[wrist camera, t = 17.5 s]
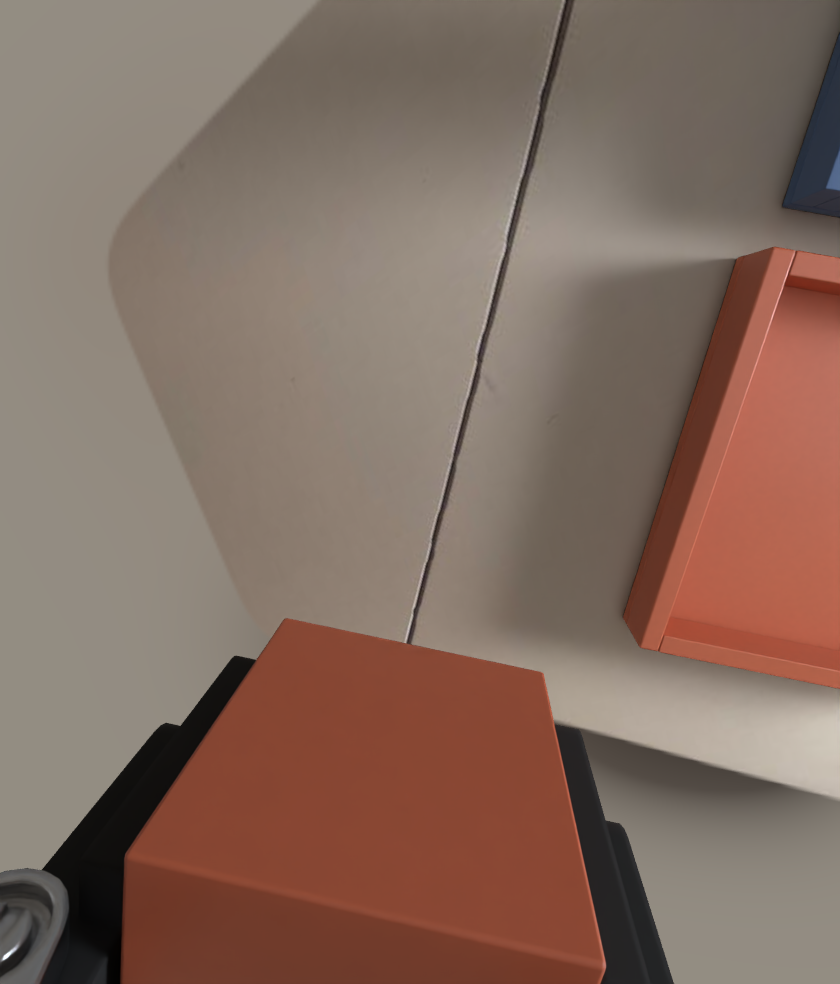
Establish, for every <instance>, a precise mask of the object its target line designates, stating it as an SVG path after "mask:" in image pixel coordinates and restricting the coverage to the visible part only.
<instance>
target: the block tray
mask: <svg viewBox="0 0 840 984" xmlns="http://www.w3.org/2000/svg"><path fill="white" fill-rule="evenodd" d="M623 619H624V621H625V622H626V624H627V626H628V628H629V629H630V631H631V633H632V635H633V636H634V638H635V640H636V642H637V644H638V645H639V647H640V648H644V649H649V650H654V651H658V652H661V653H666V654H671V655H676V656H681V657H686V658H691V659H696V660H701V661H706V662H711V663H715V664H720V665H725V666H730V667H735V668H740V669H745V670H750V671H755V672H760V673H765V674H770V675H774V676H779V677H784V678H789V679H794V680H799V681H804V682H809V683H814V684H819V685H824V686H828V687H833V688H838V689H840V258H837V257H832V256H826V255H820V254H815V253H809V252H804V251H794V250H791V249H785V248H779V247H771V248H768V249H765V250H762V251H759V252H755V253H752V254H749V255H746V256H742V257H739V258H737V260H736V263H735V266H734V270H733V273H732V276H731V279H730V282H729V285H728V288H727V292H726V295H725V298H724V301H723V304H722V307H721V310H720V314H719V317H718V320H717V323H716V326H715V329H714V332H713V336H712V339H711V342H710V345H709V348H708V351H707V355H706V358H705V361H704V364H703V367H702V370H701V373H700V377H699V380H698V383H697V386H696V389H695V392H694V395H693V399H692V402H691V405H690V408H689V411H688V414H687V417H686V421H685V424H684V427H683V430H682V433H681V436H680V439H679V443H678V446H677V449H676V452H675V455H674V458H673V461H672V465H671V468H670V471H669V474H668V477H667V480H666V483H665V487H664V490H663V493H662V496H661V499H660V502H659V506H658V509H657V512H656V515H655V518H654V521H653V524H652V528H651V531H650V534H649V537H648V540H647V543H646V546H645V550H644V553H643V556H642V559H641V562H640V565H639V568H638V572H637V575H636V578H635V581H634V584H633V587H632V590H631V594H630V597H629V600H628V603H627V606H626V609H625V612H624V616H623Z"/></svg>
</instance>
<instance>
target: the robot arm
mask: <svg viewBox="0 0 840 984" xmlns="http://www.w3.org/2000/svg"><path fill="white" fill-rule="evenodd" d="M255 661H256V660H254V659H250V658H245V657H240V656H234V657H233V658H232V659H231V660H230V661H229V663H228V664H227V665H226V667H225V668H224V669H223V671H222V672H221V673H220V675H219V676H218V677H217V678H216V680H215V681H214V683H213V684H212V685H211V686H210V688H209V689H208V690H207V692H206V693H205V694H204V696H203V697H202V698H201V700H200V701H199V702H198V704H197V705H196V706H195V708H194V709H193V710H192V712H191V713H190V714H189V716H188V717H187V718H186V719H185V721H184V722H183V723H182V725H181V726H178V725H173V724H169V723H165V724H163V725H161V726H160V727H159V728H158V729H157V730H156V731H155V732H154V733H153V734H152V735H151V737H150V738H149V739H148V740H147V741H146V743H145V744H144V745H143V746H142V747H141V749H140V750H139V751H138V752H137V754H136V755H135V756H134V757H133V758H132V760H131V761H130V762H129V763H128V765H127V766H126V767H125V768H124V770H123V771H122V772H121V773H120V775H119V776H118V777H117V778H116V779H115V781H114V782H113V783H112V784H111V786H110V787H109V788H108V789H107V791H106V792H105V793H104V794H103V796H102V797H101V798H100V799H99V800H98V802H97V803H96V804H95V805H94V806H93V808H92V809H91V810H90V811H89V813H88V814H87V815H86V816H85V817H84V819H83V820H82V821H81V822H80V824H79V825H78V826H77V827H76V829H75V830H74V831H73V832H72V833H71V835H70V836H69V837H68V838H67V840H66V841H65V842H64V843H63V845H62V846H61V847H60V848H59V849H58V851H57V852H56V853H55V854H54V856H53V857H52V858H51V859H50V861H49V862H48V863H47V864H46V865H45V867H44V868H43V869H42V870H36V869H29V868H25V869H17V870H9V871H4V872H1V873H0V984H120V970H121V941H122V913H123V884H124V858H125V854H126V852H127V851H128V849H129V848H130V846H131V845H132V843H133V842H134V840H135V839H136V837H137V836H138V834H139V833H140V831H141V830H142V828H143V827H144V825H145V824H146V822H147V821H148V820H149V818H150V817H151V815H152V814H153V812H154V811H155V809H156V808H157V806H158V805H159V803H160V802H161V800H162V799H163V797H164V796H165V794H166V793H167V791H168V790H169V789H170V787H171V786H172V784H173V783H174V781H175V780H176V778H177V777H178V775H179V774H180V772H181V771H182V769H183V768H184V766H185V765H186V763H187V762H188V760H189V759H190V757H191V756H192V755H193V753H194V752H195V750H196V749H197V747H198V746H199V744H200V743H201V741H202V740H203V738H204V737H205V735H206V734H207V732H208V731H209V729H210V728H211V726H212V725H213V723H214V722H215V721H216V719H217V718H218V716H219V715H220V713H221V712H222V710H223V709H224V707H225V706H226V704H227V703H228V701H229V700H230V698H231V697H232V695H233V694H234V692H235V691H236V689H237V688H238V687H239V685H240V684H241V682H242V681H243V679H244V678H245V676H246V675H247V673H248V672H249V670H250V669H251V667H252V666H253V664H254V663H255ZM554 725H555V724H554ZM555 730H556V735H557V739H558V744H559V748H560V753H561V758H562V762H563V767H564V772H565V776H566V781H567V786H568V790H569V795H570V799H571V804H572V809H573V813H574V818H575V823H576V827H577V832H578V837H579V841H580V846H581V850H582V855H583V860H584V864H585V869H586V874H587V878H588V883H589V888H590V892H591V897H592V901H593V906H594V911H595V915H596V920H597V925H598V929H599V934H600V939H601V943H602V948H603V952H604V957H605V962H606V969H605V973H604V975H603V978H602V980H601V983H600V984H674V983H673V980H672V976H671V973H670V970H669V967H668V964H667V961H666V957H665V954H664V951H663V948H662V944H661V942H660V938H659V935H658V932H657V929H656V925H655V922H654V919H653V916H652V913H651V909H650V906H649V903H648V900H647V897H646V893H645V891H644V887H643V884H642V881H641V878H640V874H639V871H638V868H637V865H636V862H635V858H634V855H633V852H632V849H631V846H630V843H629V839H628V837H627V834H626V832H625V830H624V828H623V827H622V826H621V825H620V824H619V823H614V822H610V821H606V820H605V817H604V814H603V810H602V806H601V803H600V799H599V796H598V792H597V788H596V785H595V781H594V778H593V774H592V771H591V767H590V763H589V760H588V756H587V753H586V749H585V745H584V742H583V738H582V735H581V732H580V731H579V730H578V729H574V728H569V727H564V726H560V725H555Z"/></svg>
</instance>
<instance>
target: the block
mask: <svg viewBox="0 0 840 984" xmlns="http://www.w3.org/2000/svg"><path fill="white" fill-rule="evenodd" d="M605 969H606V962H605V957H604V952H603V948H602V943H601V939H600V934H599V929H598V925H597V920H596V915H595V911H594V906H593V901H592V897H591V892H590V888H589V883H588V878H587V874H586V869H585V864H584V860H583V855H582V850H581V846H580V841H579V837H578V832H577V827H576V823H575V818H574V813H573V809H572V804H571V799H570V795H569V790H568V786H567V781H566V776H565V772H564V767H563V762H562V758H561V753H560V748H559V744H558V739H557V735H556V730H555V725H554V721H553V716H552V711H551V707H550V702H549V697H548V693H547V688H546V684H545V679H544V674H543V673H541V672H538V671H533V670H529V669H524V668H519V667H515V666H510V665H505V664H500V663H496V662H491V661H486V660H482V659H477V658H472V657H467V656H463V655H458V654H453V653H449V652H444V651H439V650H434V649H430V648H425V647H420V646H416V645H411V644H406V643H401V642H397V641H392V640H387V639H383V638H378V637H373V636H368V635H364V634H359V633H354V632H350V631H345V630H340V629H335V628H331V627H326V626H321V625H317V624H312V623H307V622H302V621H298V620H293V619H288V618H286V619H284V620H283V622H282V623H281V624H280V626H279V627H278V629H277V630H276V632H275V633H274V635H273V636H272V638H271V639H270V641H269V642H268V644H267V645H266V647H265V648H264V650H263V651H262V653H261V654H260V656H259V657H258V658H257V660H256V661H255V663H254V664H253V666H252V667H251V669H250V670H249V672H248V673H247V675H246V676H245V678H244V679H243V681H242V682H241V684H240V685H239V687H238V688H237V689H236V691H235V692H234V694H233V695H232V697H231V698H230V700H229V701H228V703H227V704H226V706H225V707H224V709H223V710H222V712H221V713H220V715H219V716H218V718H217V719H216V721H215V722H214V723H213V725H212V726H211V728H210V729H209V731H208V732H207V734H206V735H205V737H204V738H203V740H202V741H201V743H200V744H199V746H198V747H197V749H196V750H195V752H194V753H193V755H192V756H191V757H190V759H189V760H188V762H187V763H186V765H185V766H184V768H183V769H182V771H181V772H180V774H179V775H178V777H177V778H176V780H175V781H174V783H173V784H172V786H171V787H170V789H169V790H168V791H167V793H166V794H165V796H164V797H163V799H162V800H161V802H160V803H159V805H158V806H157V808H156V809H155V811H154V812H153V814H152V815H151V817H150V818H149V820H148V821H147V822H146V824H145V825H144V827H143V828H142V830H141V831H140V833H139V834H138V836H137V837H136V839H135V840H134V842H133V843H132V845H131V846H130V848H129V849H128V851H127V852H126V854H125V858H124V884H123V913H122V941H121V970H120V984H600V983H601V980H602V978H603V975H604V973H605Z"/></svg>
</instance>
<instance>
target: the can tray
mask: <svg viewBox="0 0 840 984" xmlns="http://www.w3.org/2000/svg"><path fill="white" fill-rule="evenodd" d="M783 207H785V208H791V209H796V210H802V211H808V212H813V213H819V214H825V215H831V216H836V217H840V33H839V36H838V39H837V42H836V45H835V48H834V51H833V55H832V58H831V61H830V64H829V67H828V70H827V73H826V76H825V79H824V82H823V85H822V88H821V91H820V94H819V97H818V100H817V103H816V106H815V109H814V112H813V115H812V118H811V121H810V124H809V127H808V130H807V133H806V136H805V139H804V142H803V145H802V148H801V151H800V154H799V157H798V160H797V163H796V166H795V169H794V172H793V175H792V178H791V181H790V184H789V187H788V190H787V193H786V196H785V199H784V202H783Z"/></svg>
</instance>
